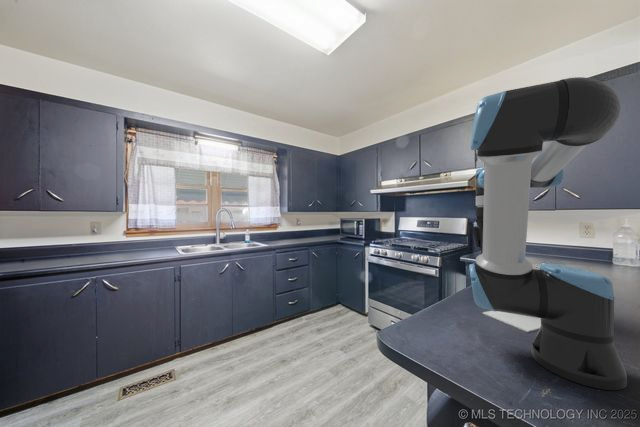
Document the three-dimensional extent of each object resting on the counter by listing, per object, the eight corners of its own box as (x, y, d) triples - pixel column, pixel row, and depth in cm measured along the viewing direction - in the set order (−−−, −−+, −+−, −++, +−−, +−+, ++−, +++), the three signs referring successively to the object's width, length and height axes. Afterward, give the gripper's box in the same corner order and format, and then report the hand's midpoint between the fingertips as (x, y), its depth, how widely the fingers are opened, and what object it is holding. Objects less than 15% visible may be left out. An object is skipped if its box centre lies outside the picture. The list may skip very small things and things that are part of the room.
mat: (527, 332, 72) (527, 331, 72) (482, 313, 85) (482, 312, 85) (567, 321, 78) (567, 320, 78) (519, 305, 91) (519, 304, 91)
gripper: (511, 206, 89) (511, 268, 89) (478, 207, 101) (478, 262, 101) (497, 206, 86) (497, 270, 87) (465, 207, 99) (465, 263, 99)
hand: (487, 265), depth 94 cm, fingers closed
